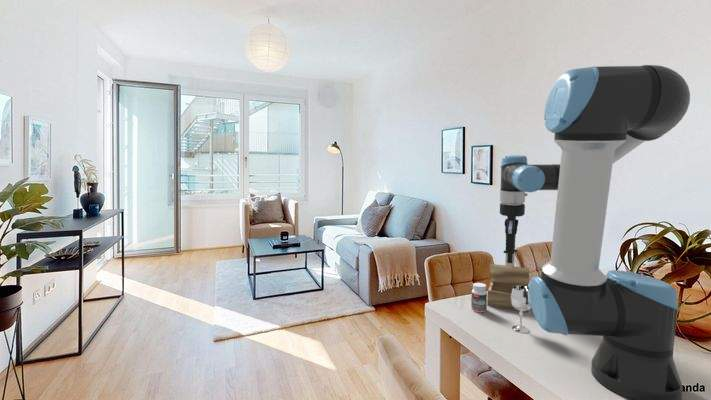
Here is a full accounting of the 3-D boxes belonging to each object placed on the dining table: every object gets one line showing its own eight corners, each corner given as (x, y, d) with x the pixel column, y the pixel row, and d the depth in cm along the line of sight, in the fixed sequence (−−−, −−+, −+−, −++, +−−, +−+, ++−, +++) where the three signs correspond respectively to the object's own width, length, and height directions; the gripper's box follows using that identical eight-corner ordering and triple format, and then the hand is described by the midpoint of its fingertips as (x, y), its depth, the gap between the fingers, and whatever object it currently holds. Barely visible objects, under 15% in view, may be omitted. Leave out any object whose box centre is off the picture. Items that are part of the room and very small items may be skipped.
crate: (527, 311, 111) (528, 296, 111) (487, 305, 117) (487, 290, 116) (527, 301, 120) (528, 286, 120) (490, 295, 126) (491, 281, 125)
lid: (529, 269, 113) (529, 267, 114) (489, 265, 119) (489, 263, 119) (528, 286, 120) (528, 284, 120) (491, 281, 125) (491, 279, 126)
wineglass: (505, 328, 100) (507, 288, 99) (515, 322, 104) (516, 283, 102) (526, 336, 96) (527, 293, 94) (535, 329, 99) (537, 288, 98)
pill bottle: (471, 311, 112) (471, 286, 111) (470, 306, 116) (471, 281, 115) (487, 313, 110) (487, 287, 109) (486, 307, 115) (486, 283, 114)
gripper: (524, 207, 108) (520, 279, 112) (525, 199, 119) (522, 265, 123) (497, 206, 111) (495, 276, 115) (501, 198, 122) (499, 263, 126)
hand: (509, 270), depth 119 cm, fingers closed
